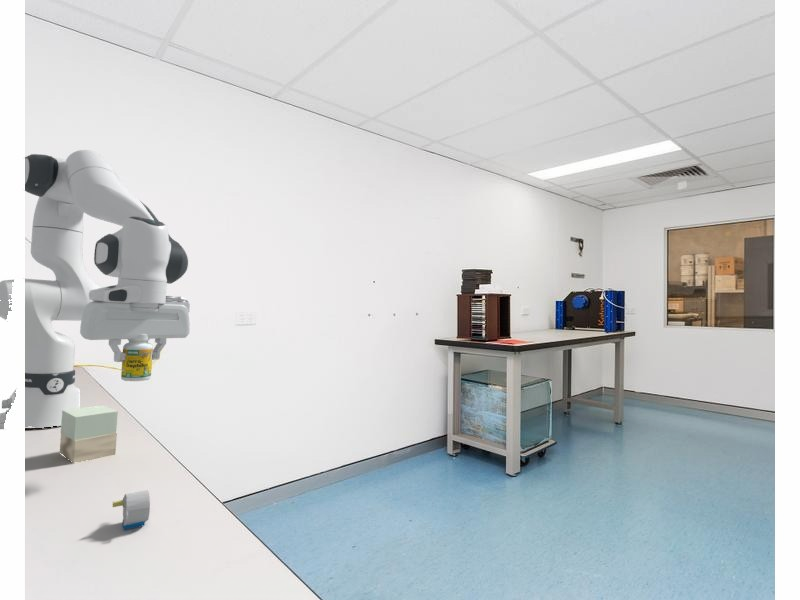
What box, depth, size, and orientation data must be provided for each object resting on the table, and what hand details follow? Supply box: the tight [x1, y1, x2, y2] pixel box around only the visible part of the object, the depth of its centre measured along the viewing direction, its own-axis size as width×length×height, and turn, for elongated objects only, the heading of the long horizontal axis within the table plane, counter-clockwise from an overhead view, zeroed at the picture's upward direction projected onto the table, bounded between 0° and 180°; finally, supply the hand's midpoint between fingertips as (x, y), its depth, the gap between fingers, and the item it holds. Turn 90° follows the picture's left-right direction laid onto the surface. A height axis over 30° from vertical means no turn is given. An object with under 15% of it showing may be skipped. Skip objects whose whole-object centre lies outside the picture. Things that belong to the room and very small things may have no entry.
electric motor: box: [112, 489, 151, 531], centre depth 69 cm, size 7×5×5 cm
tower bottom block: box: [59, 432, 118, 464], centre depth 97 cm, size 8×8×5 cm
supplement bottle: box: [120, 334, 154, 382], centre depth 90 cm, size 5×5×10 cm
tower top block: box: [60, 404, 118, 441], centre depth 98 cm, size 8×8×5 cm
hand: (137, 360), depth 90 cm, fingers closed on supplement bottle, 5 cm apart
